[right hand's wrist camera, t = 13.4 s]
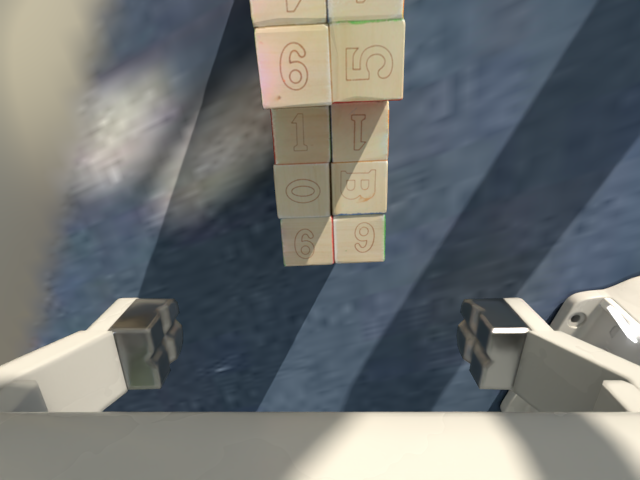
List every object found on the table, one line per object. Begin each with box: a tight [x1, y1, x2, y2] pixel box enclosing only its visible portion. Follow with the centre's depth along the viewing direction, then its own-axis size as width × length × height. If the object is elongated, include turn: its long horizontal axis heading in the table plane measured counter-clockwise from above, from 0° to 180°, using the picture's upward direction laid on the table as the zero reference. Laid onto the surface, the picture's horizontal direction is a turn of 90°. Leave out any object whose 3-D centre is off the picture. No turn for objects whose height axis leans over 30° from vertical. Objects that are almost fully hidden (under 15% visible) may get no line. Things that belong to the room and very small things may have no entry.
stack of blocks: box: [249, 0, 405, 266], centre depth 20 cm, size 21×6×12 cm, turn 2°
